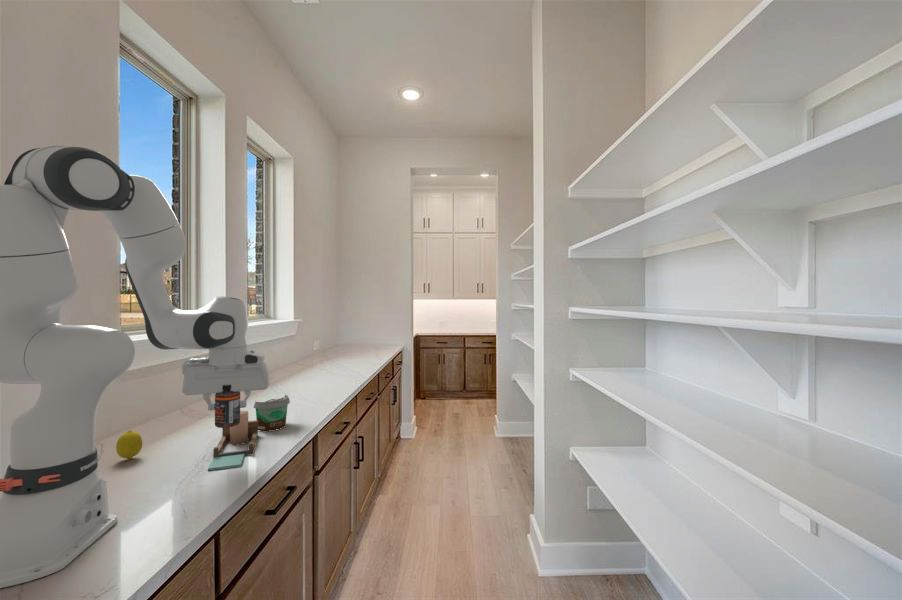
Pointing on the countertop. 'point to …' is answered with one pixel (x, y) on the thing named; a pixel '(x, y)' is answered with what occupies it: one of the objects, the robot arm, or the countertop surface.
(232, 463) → the coaster
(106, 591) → the countertop surface
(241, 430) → the peach capsule
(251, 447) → the rack
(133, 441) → the lemon
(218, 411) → the supplement bottle
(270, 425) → the food container
